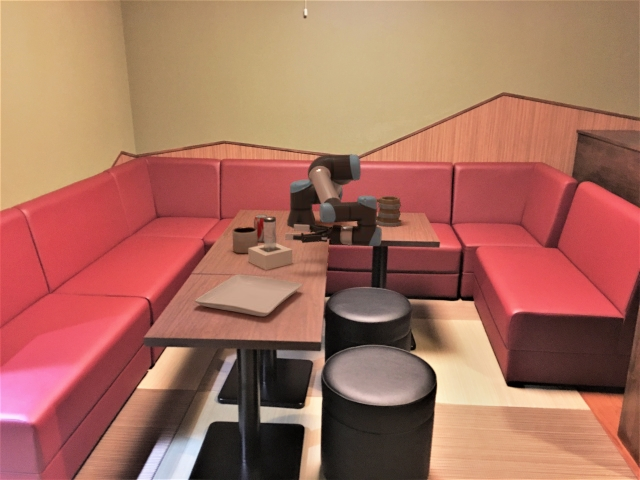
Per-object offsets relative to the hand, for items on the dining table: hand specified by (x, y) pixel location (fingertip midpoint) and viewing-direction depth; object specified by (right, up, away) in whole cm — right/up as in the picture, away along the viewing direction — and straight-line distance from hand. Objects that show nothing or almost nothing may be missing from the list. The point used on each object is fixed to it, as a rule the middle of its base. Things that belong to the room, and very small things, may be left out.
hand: (289, 231), depth 210 cm
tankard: (+45, +5, +69) cm, 83 cm away
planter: (-21, -8, +22) cm, 32 cm away
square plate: (-11, -24, -32) cm, 42 cm away
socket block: (-8, -13, +6) cm, 16 cm away
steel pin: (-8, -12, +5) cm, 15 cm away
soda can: (-15, -4, +37) cm, 40 cm away
